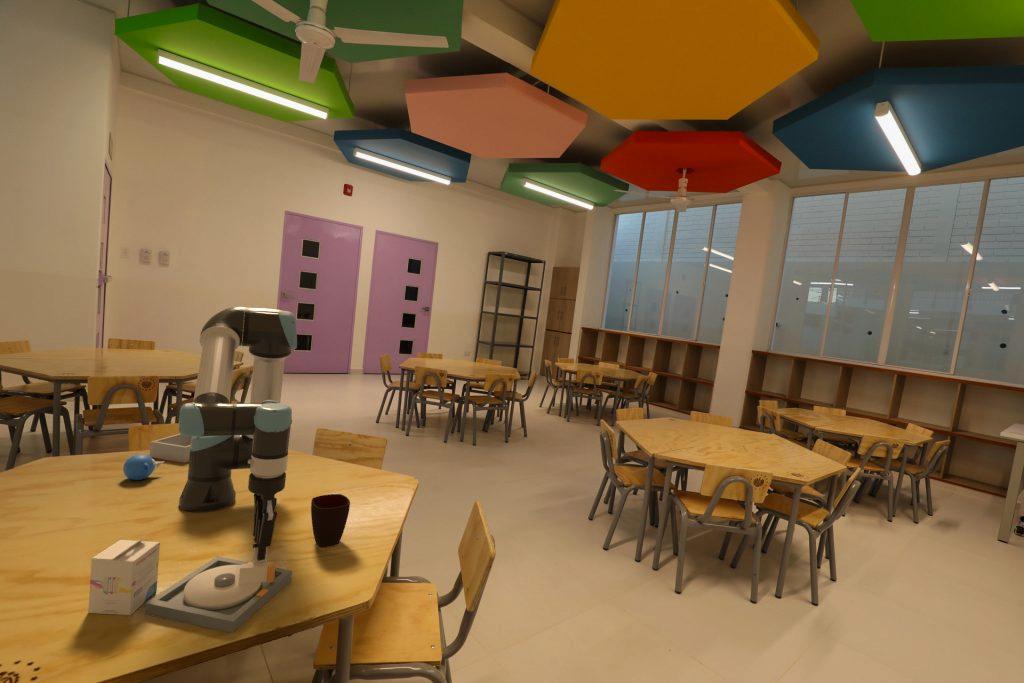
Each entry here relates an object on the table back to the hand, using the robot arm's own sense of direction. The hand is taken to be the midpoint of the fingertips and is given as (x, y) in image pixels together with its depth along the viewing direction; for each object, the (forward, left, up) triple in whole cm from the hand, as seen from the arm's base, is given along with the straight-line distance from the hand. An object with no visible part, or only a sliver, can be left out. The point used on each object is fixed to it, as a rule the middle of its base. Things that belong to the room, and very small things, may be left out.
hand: (258, 570), depth 111 cm
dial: (-4, -4, -3) cm, 6 cm away
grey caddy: (-83, +74, -4) cm, 111 cm away
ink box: (-22, -12, -5) cm, 26 cm away
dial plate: (-5, -4, -4) cm, 8 cm away
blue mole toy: (-75, +45, -5) cm, 87 cm away
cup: (+2, +27, -5) cm, 27 cm away
